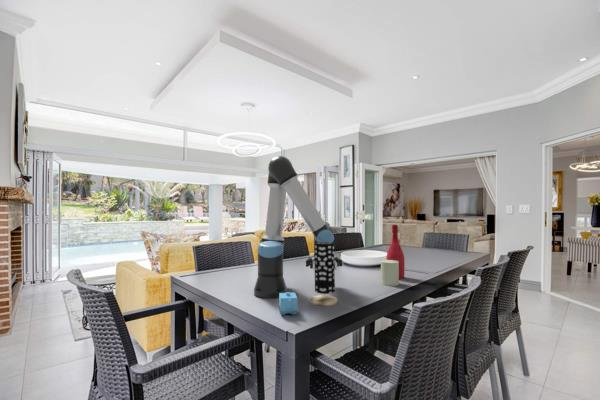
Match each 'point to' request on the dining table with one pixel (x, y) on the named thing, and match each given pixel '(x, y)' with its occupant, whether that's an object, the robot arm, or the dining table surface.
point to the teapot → (288, 303)
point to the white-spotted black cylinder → (324, 267)
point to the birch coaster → (324, 300)
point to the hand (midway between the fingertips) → (325, 266)
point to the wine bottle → (396, 251)
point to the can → (389, 272)
